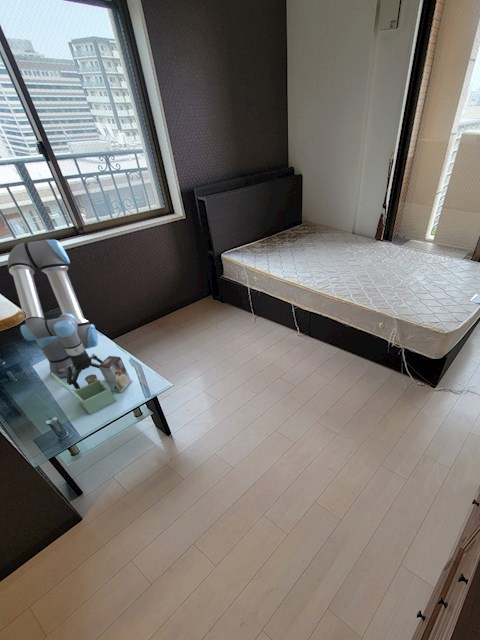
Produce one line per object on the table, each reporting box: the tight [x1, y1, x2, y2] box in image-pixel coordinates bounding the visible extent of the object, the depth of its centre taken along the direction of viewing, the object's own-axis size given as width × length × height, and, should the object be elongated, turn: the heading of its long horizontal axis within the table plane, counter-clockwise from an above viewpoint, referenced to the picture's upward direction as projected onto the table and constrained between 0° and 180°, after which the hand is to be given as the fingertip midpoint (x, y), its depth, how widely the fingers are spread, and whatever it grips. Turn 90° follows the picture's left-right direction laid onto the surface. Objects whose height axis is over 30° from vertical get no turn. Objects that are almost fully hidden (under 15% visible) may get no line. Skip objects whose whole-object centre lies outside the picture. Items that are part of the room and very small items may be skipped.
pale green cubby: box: [73, 379, 116, 415], centre depth 166 cm, size 13×11×8 cm
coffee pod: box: [84, 374, 99, 385], centre depth 176 cm, size 6×6×6 cm
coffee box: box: [98, 355, 132, 393], centre depth 172 cm, size 9×6×16 cm
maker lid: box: [50, 372, 83, 402], centre depth 154 cm, size 13×11×1 cm
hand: (95, 386), depth 177 cm, fingers open, 13 cm apart
